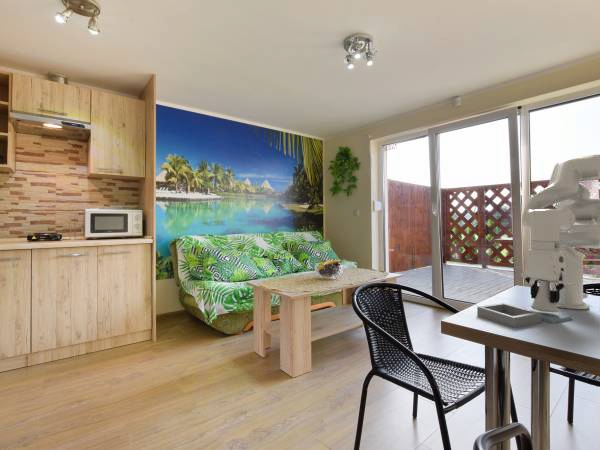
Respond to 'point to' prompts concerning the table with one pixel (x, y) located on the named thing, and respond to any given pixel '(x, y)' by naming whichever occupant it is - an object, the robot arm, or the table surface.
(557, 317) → the board
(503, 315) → the grey square tray
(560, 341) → the table surface
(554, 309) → the flask
